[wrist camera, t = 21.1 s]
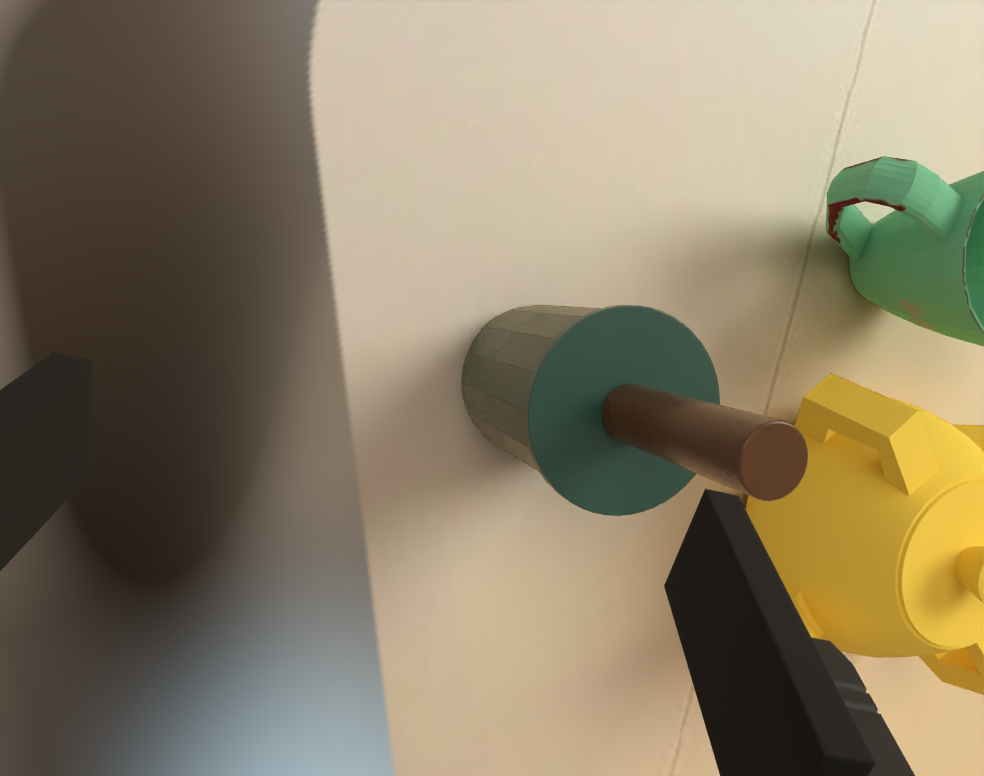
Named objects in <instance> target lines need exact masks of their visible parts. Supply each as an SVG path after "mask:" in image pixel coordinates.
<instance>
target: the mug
mask: <svg viewBox="0 0 984 776" xmlns="http://www.w3.org/2000/svg"><path fill="white" fill-rule="evenodd" d="M864 201H866V202H871V203H875V204H880V205H885V206H889V207H892V208H894V209H895V211H894V212H892V213H890V214H889V215H887V216H886V217H884V218H882V219H881V220H879V221H878V222H876V223H875V224H873V225H872V224H871V223H870V222H869V221H868V220H867V219H866V218H865V216H864V215H863V214H862V213H861V212H860V211H859V210H858V208H857V207H856V206H855V205H854V204H856V203H860V202H864ZM826 231H827V233H828V234H829V235H830V236H831V237H832V238H833V239H834V240H835V241H836V243H837V244H838V245H839V246H840V247H841V248H842V249H843V250H844V251H845V252H846V253H847V254H848V255H849V256H850V259H849V272H850V276H851V280H852V283H853V285H854V287H855V288H856V290H857V291H858V293H859V294H861V295H862V296H863V297H864V298H866V299H867V300H869V301H871V302H872V303H874V304H876V305H878V306H879V307H881V308H883V309H884V310H886V311H888V312H890V313H891V314H894V315H896V316H898V317H900V318H903V319H905V320H907V321H909V322H912V323H914V324H916V325H918V326H921V327H924V328H926V329H929V330H932V331H935V332H938V333H940V334H943V335H946V336H949V337H953V338H956V339H959V340H963V341H966V342H970V343H974V344H977V345H981V346H984V171H983V172H980V173H978V174H975V175H972V176H970V177H967V178H965V179H962V180H960V181H957V182H955V183H952V184H950V185H948V184H947V183H946V182H944V181H943V180H942V179H941V178H940V177H939V176H938V175H936V174H935V173H933V172H932V171H930V170H929V169H927V168H925V167H924V166H922V165H921V164H919V163H918V162H916V161H911V160H905V159H898V158H891V157H880V158H877V159H873V160H870V161H867V162H863V163H860V164H857V165H853V166H850V167H847V168H844V169H843V170H842V171H841V172H840V173H839V174H838V175H837V176H836V177H835V178H834V179H833V180H832V182H831V184H830V187H829V189H828V192H827V215H826Z"/></svg>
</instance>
